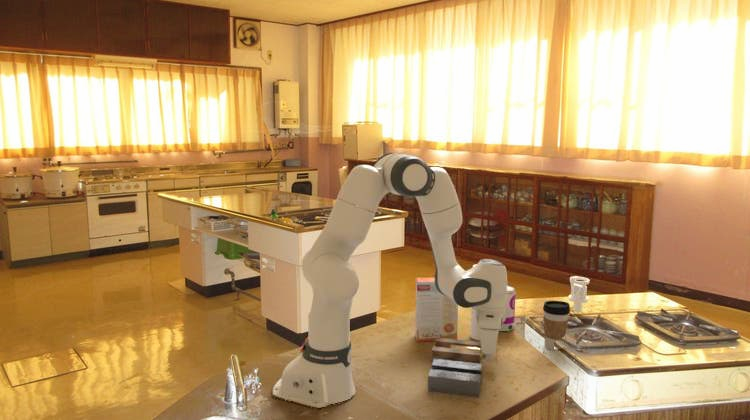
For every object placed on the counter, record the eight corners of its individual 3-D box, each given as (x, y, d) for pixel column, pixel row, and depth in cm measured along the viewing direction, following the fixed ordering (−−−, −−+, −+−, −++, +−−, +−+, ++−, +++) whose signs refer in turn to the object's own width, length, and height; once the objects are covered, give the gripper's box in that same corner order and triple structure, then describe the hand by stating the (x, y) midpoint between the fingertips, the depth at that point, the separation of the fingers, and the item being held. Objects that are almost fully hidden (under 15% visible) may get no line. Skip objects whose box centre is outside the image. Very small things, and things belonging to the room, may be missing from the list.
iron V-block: (427, 391, 150) (428, 375, 149) (433, 372, 160) (433, 358, 160) (479, 397, 146) (480, 382, 146) (481, 378, 157) (482, 363, 156)
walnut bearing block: (431, 369, 163) (431, 350, 162) (435, 355, 173) (436, 337, 172) (478, 374, 160) (479, 355, 159) (480, 360, 169) (481, 342, 168)
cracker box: (454, 334, 190) (456, 276, 186) (457, 341, 184) (459, 281, 180) (414, 334, 189) (415, 276, 186) (416, 341, 183) (417, 281, 180)
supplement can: (516, 326, 197) (518, 287, 194) (509, 334, 190) (511, 293, 187) (495, 322, 201) (497, 283, 199) (487, 329, 194) (488, 289, 192)
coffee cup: (564, 353, 174) (567, 309, 172) (537, 348, 179) (540, 304, 176) (570, 344, 181) (573, 301, 179) (544, 339, 186) (547, 297, 183)
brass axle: (449, 358, 164) (449, 347, 164) (450, 353, 168) (451, 342, 167) (496, 363, 161) (497, 352, 161) (497, 358, 165) (497, 347, 164)
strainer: (564, 311, 213) (566, 274, 211) (579, 309, 215) (582, 273, 213) (574, 317, 207) (577, 279, 204) (590, 316, 208) (593, 278, 206)
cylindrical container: (491, 341, 183) (494, 270, 179) (470, 339, 185) (472, 268, 181) (491, 333, 190) (494, 264, 186) (470, 332, 192) (473, 263, 188)
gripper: (481, 301, 172) (479, 342, 174) (477, 324, 152) (475, 370, 154) (502, 302, 170) (500, 344, 172) (500, 326, 151) (498, 373, 153)
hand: (488, 357), depth 163 cm, fingers closed on brass axle, 4 cm apart
